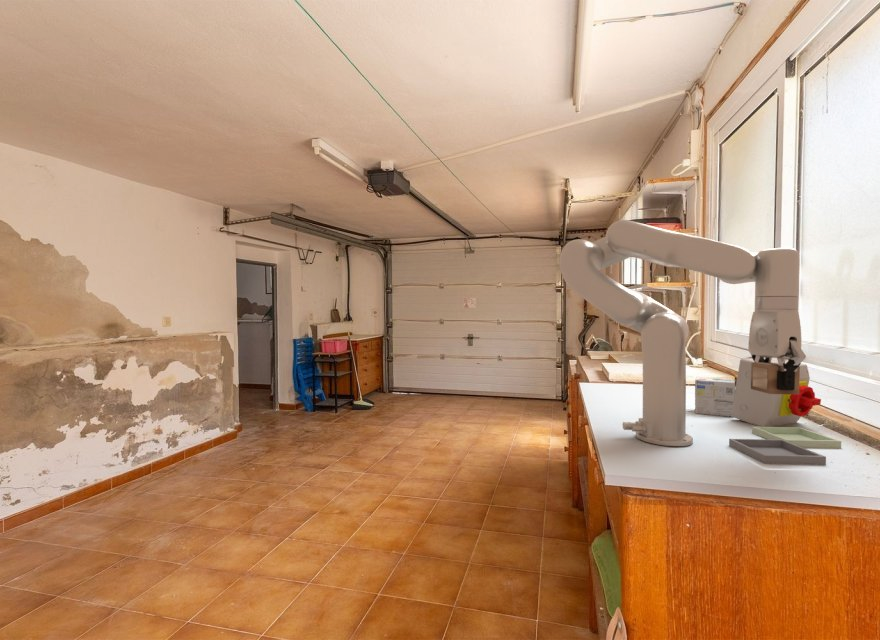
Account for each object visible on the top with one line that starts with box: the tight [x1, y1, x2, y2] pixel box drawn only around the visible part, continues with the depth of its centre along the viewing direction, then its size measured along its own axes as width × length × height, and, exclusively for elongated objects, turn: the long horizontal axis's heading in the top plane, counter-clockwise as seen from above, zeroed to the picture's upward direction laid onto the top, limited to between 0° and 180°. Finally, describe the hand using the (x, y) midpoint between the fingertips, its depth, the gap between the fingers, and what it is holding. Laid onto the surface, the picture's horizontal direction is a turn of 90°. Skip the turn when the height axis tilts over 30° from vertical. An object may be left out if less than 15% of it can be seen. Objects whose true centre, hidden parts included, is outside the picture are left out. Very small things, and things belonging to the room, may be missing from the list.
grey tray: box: [728, 438, 827, 466], centre depth 94 cm, size 12×12×2 cm
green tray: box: [751, 426, 842, 449], centre depth 105 cm, size 12×12×2 cm
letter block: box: [751, 362, 800, 395], centre depth 94 cm, size 6×6×6 cm
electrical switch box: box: [731, 355, 822, 427], centre depth 119 cm, size 15×15×20 cm
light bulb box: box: [694, 376, 736, 418], centre depth 135 cm, size 11×7×11 cm, turn 58°
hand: (774, 386), depth 94 cm, fingers closed on letter block, 6 cm apart
